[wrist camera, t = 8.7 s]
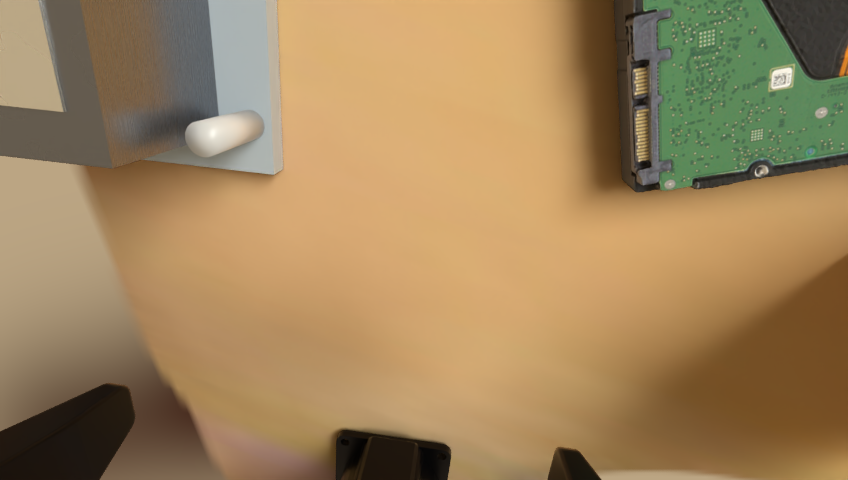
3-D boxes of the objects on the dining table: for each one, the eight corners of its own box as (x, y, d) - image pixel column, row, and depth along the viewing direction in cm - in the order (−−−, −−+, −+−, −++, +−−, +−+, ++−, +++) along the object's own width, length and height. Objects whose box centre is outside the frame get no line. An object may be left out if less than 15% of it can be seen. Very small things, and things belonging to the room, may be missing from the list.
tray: (283, 169, 20) (233, 199, 16) (92, 147, 20) (-6, 171, 16) (270, -177, 15) (193, -266, 11) (21, -194, 16) (-143, -285, 11)
